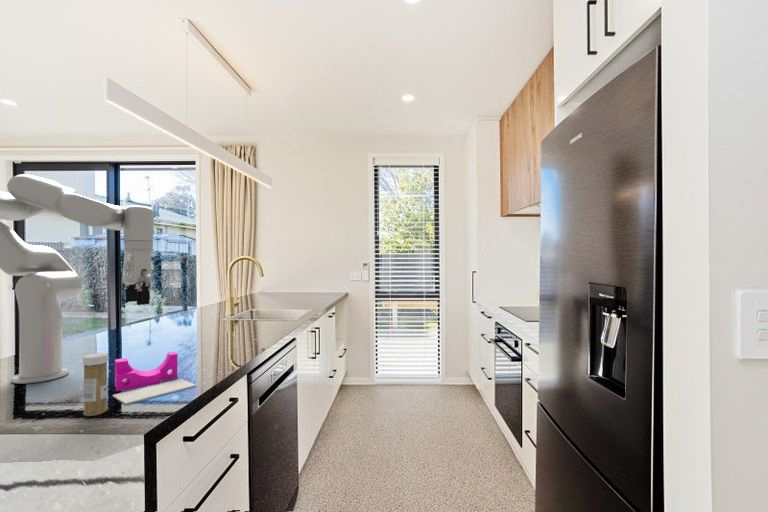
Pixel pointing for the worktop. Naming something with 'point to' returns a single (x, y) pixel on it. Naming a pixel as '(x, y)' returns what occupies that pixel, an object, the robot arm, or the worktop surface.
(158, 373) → the toy block
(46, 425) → the worktop surface
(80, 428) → the worktop surface
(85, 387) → the sprinkles bottle
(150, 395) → the mat
